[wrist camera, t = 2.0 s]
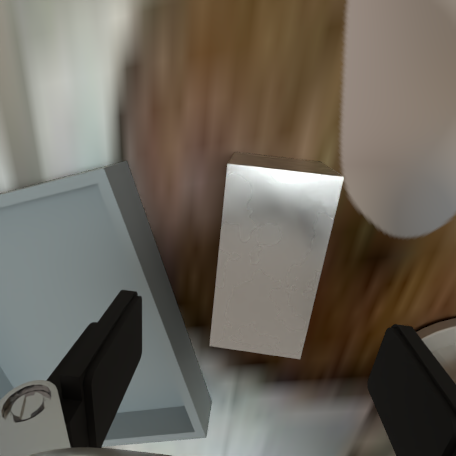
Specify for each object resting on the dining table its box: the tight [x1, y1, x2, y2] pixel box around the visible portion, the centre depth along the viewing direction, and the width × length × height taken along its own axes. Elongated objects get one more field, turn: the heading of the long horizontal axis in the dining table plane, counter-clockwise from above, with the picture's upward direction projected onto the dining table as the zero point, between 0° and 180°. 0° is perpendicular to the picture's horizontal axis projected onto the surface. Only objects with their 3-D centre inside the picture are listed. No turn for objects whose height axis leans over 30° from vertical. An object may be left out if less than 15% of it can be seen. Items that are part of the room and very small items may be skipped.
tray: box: [0, 161, 212, 447], centre depth 26 cm, size 24×20×4 cm
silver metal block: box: [209, 152, 344, 359], centre depth 20 cm, size 12×6×6 cm, turn 174°
